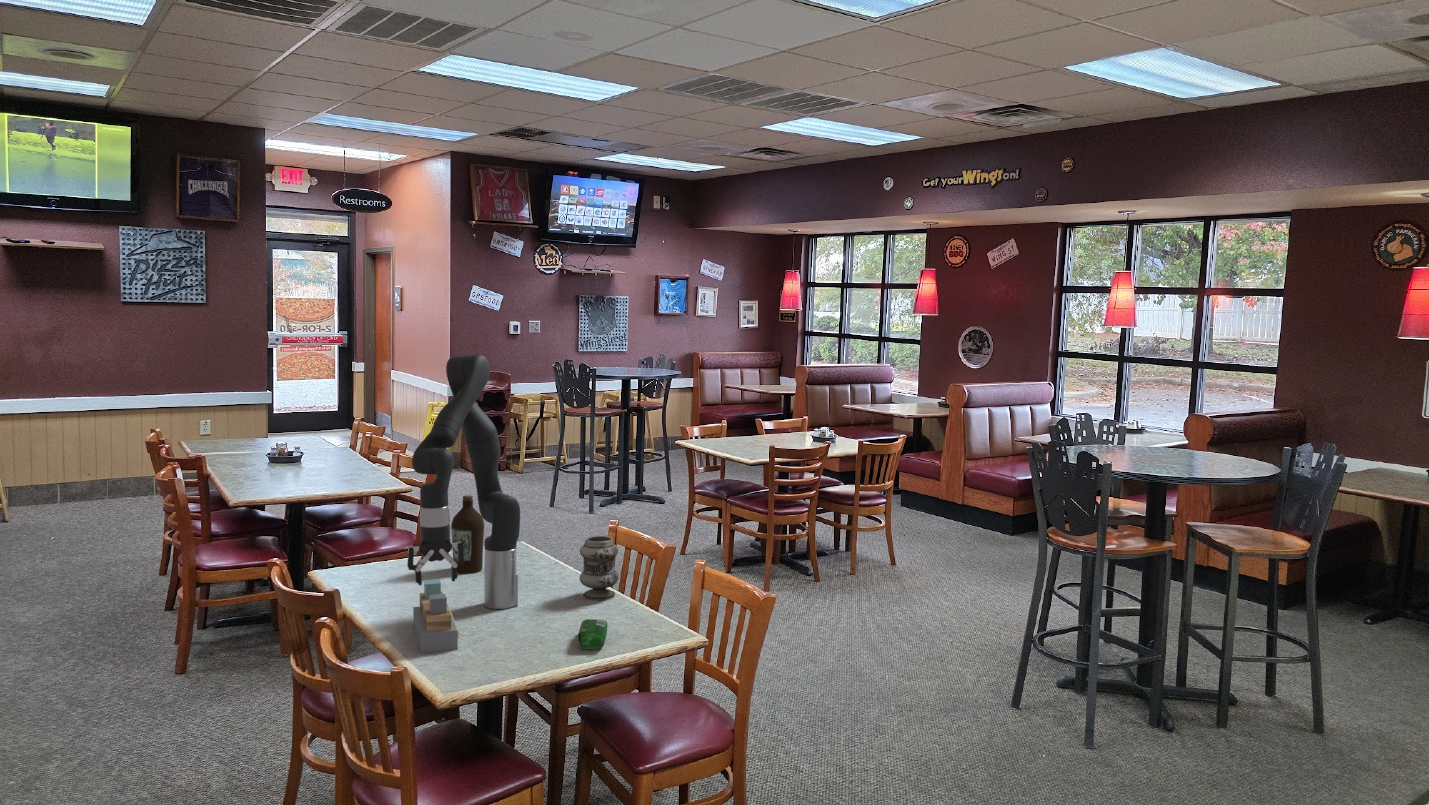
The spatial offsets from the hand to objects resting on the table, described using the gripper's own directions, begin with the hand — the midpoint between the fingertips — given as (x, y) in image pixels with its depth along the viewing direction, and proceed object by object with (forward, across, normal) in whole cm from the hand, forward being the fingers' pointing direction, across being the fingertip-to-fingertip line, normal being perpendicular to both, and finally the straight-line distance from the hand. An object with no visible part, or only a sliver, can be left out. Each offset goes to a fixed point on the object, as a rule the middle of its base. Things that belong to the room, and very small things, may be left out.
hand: (436, 582), depth 253 cm
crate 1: (+6, 0, -7) cm, 9 cm away
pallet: (+10, +1, 0) cm, 10 cm away
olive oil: (+16, -17, -63) cm, 67 cm away
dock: (+15, +1, 0) cm, 15 cm away
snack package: (+16, -38, +18) cm, 44 cm away
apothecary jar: (+16, -50, -21) cm, 57 cm away
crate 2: (+6, +1, +7) cm, 9 cm away
